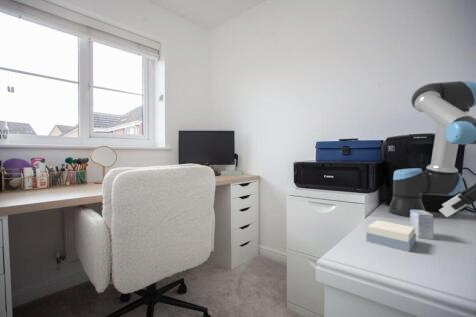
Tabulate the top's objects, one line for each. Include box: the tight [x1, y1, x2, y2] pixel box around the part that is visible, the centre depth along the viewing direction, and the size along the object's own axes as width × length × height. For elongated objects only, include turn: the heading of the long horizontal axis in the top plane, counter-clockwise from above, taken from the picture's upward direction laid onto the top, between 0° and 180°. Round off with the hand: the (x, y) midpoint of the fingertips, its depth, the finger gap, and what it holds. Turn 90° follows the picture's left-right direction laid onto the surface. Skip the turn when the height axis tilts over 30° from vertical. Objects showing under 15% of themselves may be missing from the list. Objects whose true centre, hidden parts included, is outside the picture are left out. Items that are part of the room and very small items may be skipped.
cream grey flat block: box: [365, 220, 417, 252], centre depth 74 cm, size 12×12×5 cm
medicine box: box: [409, 210, 434, 240], centre depth 81 cm, size 8×4×9 cm, turn 160°
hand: (444, 210), depth 76 cm, fingers open, 13 cm apart
